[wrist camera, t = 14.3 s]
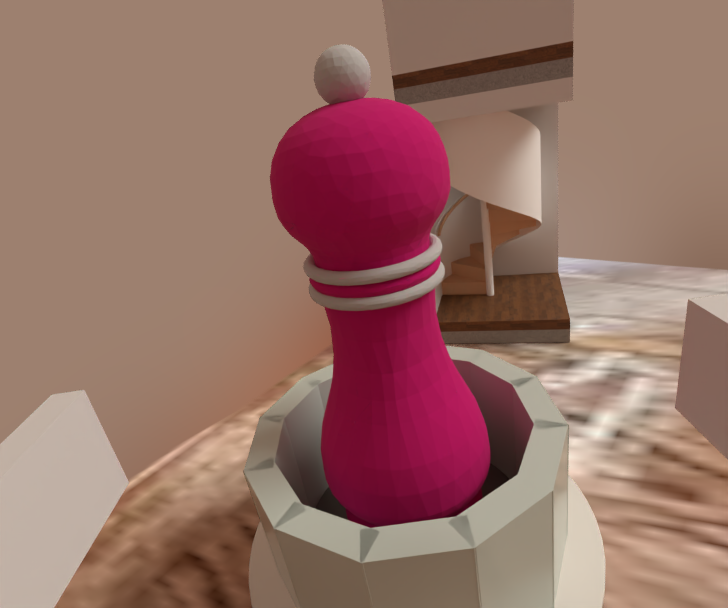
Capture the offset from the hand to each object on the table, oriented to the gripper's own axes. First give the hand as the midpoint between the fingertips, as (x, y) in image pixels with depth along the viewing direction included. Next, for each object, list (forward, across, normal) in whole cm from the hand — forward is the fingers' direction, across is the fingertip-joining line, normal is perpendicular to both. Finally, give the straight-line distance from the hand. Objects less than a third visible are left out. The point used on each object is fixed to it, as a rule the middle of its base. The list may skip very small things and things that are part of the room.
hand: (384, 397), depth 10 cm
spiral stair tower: (+31, +10, -14) cm, 35 cm away
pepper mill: (+8, 0, -12) cm, 15 cm away
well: (+8, 0, -14) cm, 16 cm away
